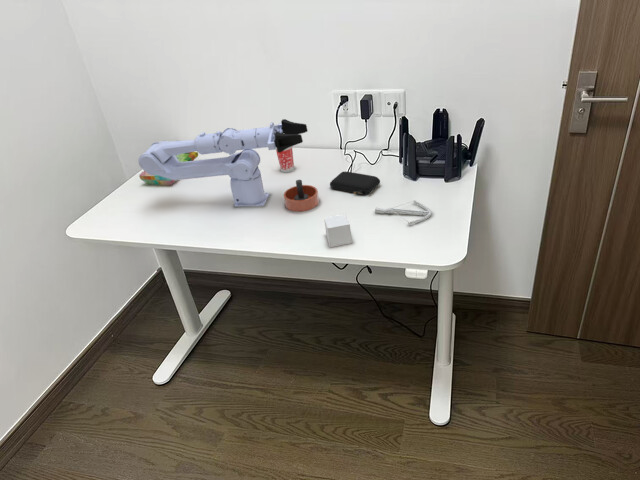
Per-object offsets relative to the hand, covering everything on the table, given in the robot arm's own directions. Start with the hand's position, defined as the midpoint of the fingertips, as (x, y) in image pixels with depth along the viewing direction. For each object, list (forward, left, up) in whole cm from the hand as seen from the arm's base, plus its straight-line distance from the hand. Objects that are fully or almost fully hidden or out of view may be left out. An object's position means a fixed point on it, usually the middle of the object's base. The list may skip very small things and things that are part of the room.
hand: (304, 133), depth 155 cm
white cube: (+11, -23, -22) cm, 33 cm away
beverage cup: (-13, +22, -22) cm, 34 cm away
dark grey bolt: (-3, -3, -21) cm, 22 cm away
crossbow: (+28, -10, -22) cm, 37 cm away
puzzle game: (-55, +22, -22) cm, 63 cm away
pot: (-3, -3, -22) cm, 22 cm away
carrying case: (+12, +7, -22) cm, 26 cm away
